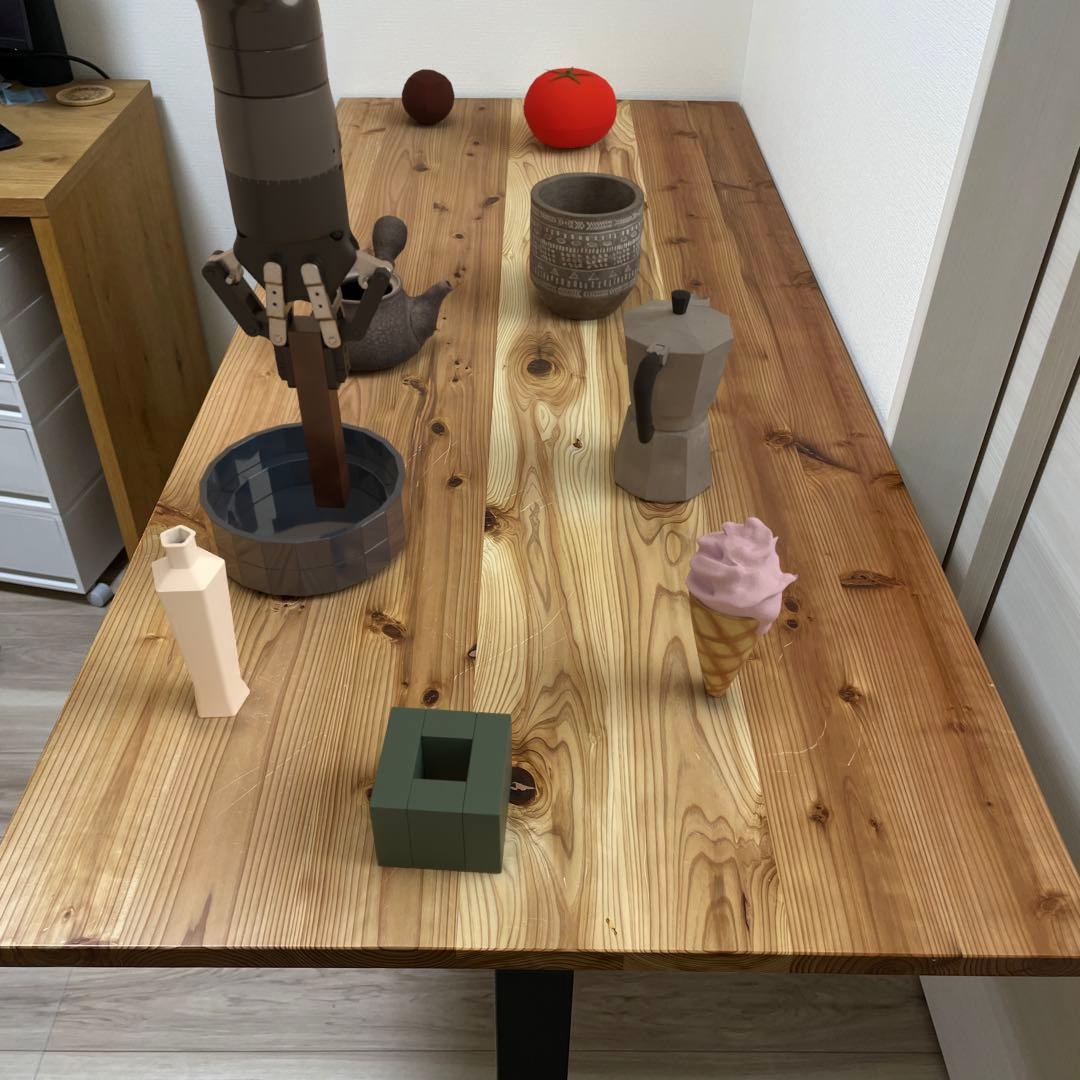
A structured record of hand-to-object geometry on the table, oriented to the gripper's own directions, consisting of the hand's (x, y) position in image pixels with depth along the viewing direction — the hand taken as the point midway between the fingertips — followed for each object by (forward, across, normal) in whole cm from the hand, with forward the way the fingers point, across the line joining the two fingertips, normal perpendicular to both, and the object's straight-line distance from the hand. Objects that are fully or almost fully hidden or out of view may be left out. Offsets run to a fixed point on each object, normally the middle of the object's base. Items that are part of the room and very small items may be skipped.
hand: (316, 382), depth 80 cm
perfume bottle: (+15, -4, -19) cm, 24 cm away
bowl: (+15, -2, 0) cm, 15 cm away
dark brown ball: (+15, -7, +100) cm, 101 cm away
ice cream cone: (+15, +31, -15) cm, 38 cm away
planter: (+15, +19, +43) cm, 49 cm away
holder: (+15, +13, -27) cm, 34 cm away
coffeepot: (+15, +27, +10) cm, 32 cm away
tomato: (+15, +15, +93) cm, 95 cm away
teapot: (+15, -2, +34) cm, 37 cm away
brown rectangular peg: (+11, 0, 0) cm, 11 cm away
